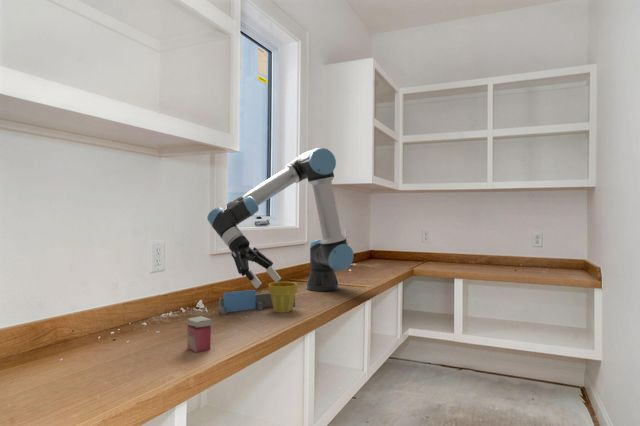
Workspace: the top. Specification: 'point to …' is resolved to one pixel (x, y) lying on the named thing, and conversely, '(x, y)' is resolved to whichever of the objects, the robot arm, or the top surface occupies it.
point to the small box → (199, 334)
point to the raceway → (244, 301)
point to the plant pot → (282, 295)
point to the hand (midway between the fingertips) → (269, 283)
